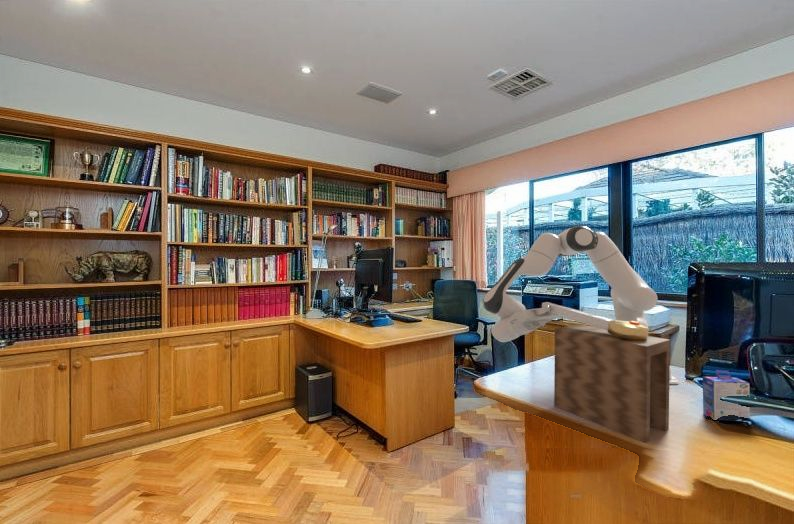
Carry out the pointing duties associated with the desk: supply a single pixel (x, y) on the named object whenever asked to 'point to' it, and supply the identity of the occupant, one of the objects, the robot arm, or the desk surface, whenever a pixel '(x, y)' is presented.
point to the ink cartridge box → (724, 388)
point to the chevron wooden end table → (613, 379)
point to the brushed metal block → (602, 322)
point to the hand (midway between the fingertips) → (553, 307)
